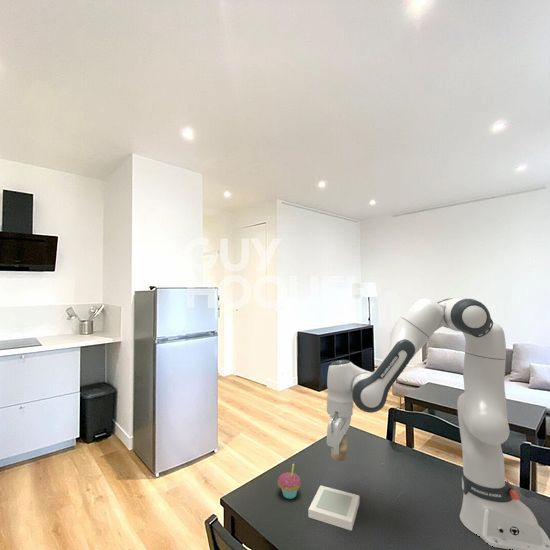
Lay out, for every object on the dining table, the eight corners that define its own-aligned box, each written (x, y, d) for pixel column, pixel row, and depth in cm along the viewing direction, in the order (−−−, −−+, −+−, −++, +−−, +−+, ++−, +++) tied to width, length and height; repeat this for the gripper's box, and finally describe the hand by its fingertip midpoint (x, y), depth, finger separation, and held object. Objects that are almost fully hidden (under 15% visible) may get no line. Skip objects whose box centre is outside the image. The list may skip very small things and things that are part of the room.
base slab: (359, 503, 106) (359, 494, 106) (351, 530, 94) (351, 521, 94) (320, 492, 112) (320, 484, 112) (308, 517, 99) (308, 508, 100)
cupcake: (305, 492, 112) (304, 458, 113) (293, 505, 105) (293, 469, 106) (285, 484, 117) (285, 452, 118) (272, 496, 110) (272, 462, 111)
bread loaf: (348, 455, 106) (348, 434, 106) (344, 462, 101) (345, 440, 102) (333, 451, 108) (333, 431, 109) (329, 458, 103) (329, 437, 104)
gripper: (341, 420, 95) (341, 466, 94) (354, 400, 114) (353, 438, 113) (322, 416, 98) (321, 461, 97) (337, 397, 116) (337, 435, 115)
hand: (339, 448), depth 105 cm, fingers closed on bread loaf, 5 cm apart
